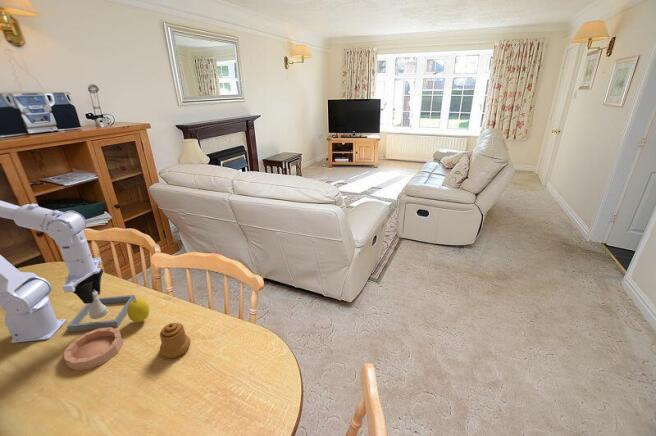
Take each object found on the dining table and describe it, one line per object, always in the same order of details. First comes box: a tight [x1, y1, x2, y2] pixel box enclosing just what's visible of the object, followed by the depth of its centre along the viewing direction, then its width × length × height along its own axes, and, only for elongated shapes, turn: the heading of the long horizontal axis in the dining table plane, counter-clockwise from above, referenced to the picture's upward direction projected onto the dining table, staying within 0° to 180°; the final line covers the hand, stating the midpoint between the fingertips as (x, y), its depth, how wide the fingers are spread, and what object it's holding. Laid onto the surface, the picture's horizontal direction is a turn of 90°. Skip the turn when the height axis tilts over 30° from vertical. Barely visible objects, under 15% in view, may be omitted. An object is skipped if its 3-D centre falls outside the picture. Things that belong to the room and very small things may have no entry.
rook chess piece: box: [88, 289, 109, 320], centre depth 86 cm, size 4×4×8 cm
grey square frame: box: [66, 294, 137, 333], centre depth 94 cm, size 13×13×2 cm
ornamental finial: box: [159, 322, 191, 359], centre depth 81 cm, size 8×8×8 cm
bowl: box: [63, 327, 124, 371], centre depth 81 cm, size 12×12×3 cm
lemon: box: [126, 298, 150, 323], centre depth 90 cm, size 6×6×8 cm
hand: (92, 298), depth 86 cm, fingers closed on rook chess piece, 3 cm apart
